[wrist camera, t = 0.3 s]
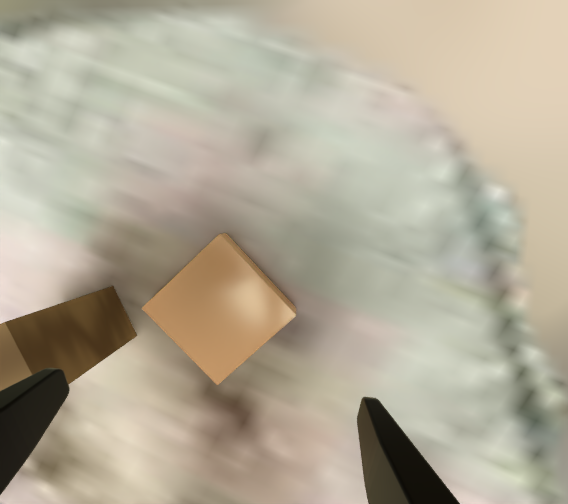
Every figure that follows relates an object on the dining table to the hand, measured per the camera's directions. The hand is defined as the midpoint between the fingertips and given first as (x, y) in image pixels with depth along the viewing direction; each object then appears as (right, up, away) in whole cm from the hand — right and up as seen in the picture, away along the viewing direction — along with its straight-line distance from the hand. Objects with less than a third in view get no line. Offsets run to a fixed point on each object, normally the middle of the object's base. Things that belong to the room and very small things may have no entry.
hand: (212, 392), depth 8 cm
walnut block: (-14, -2, +16) cm, 22 cm away
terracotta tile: (-3, 0, +16) cm, 16 cm away
